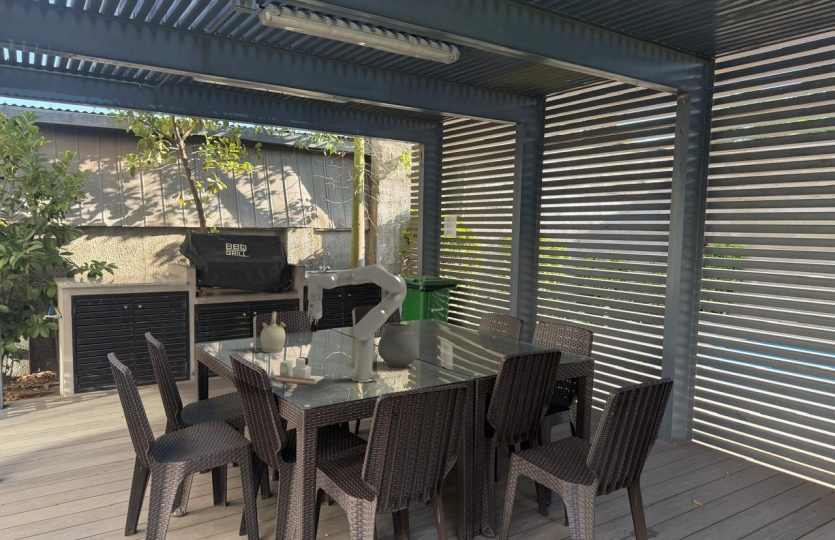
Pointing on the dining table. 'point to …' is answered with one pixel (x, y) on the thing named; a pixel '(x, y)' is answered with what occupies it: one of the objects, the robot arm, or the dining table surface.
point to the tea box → (286, 368)
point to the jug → (272, 336)
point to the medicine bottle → (301, 368)
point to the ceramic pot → (398, 345)
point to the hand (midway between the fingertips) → (313, 331)
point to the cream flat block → (299, 379)
